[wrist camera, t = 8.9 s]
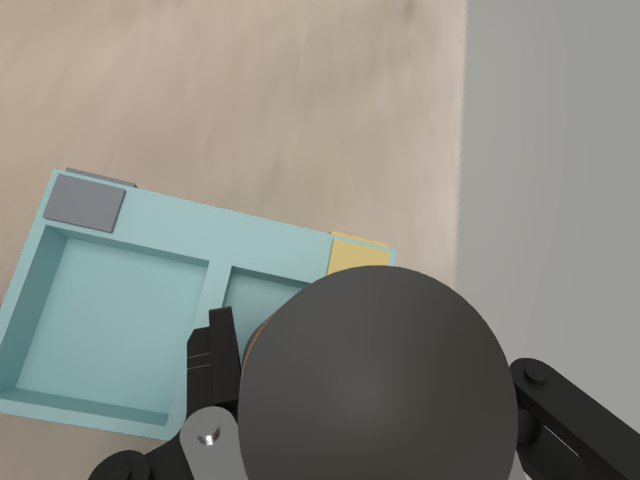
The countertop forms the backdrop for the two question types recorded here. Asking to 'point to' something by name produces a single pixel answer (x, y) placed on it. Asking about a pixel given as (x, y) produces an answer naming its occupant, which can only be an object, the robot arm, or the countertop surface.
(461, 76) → the countertop surface
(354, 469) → the walnut peg
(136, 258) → the socket block
